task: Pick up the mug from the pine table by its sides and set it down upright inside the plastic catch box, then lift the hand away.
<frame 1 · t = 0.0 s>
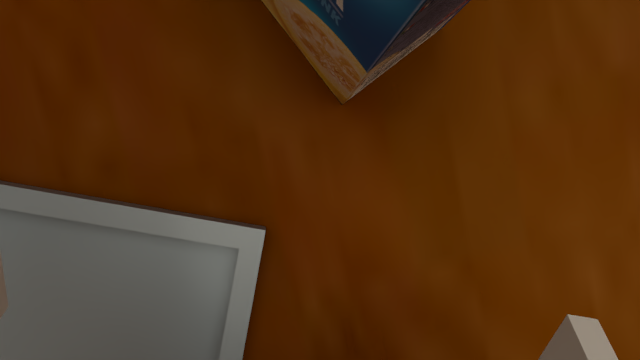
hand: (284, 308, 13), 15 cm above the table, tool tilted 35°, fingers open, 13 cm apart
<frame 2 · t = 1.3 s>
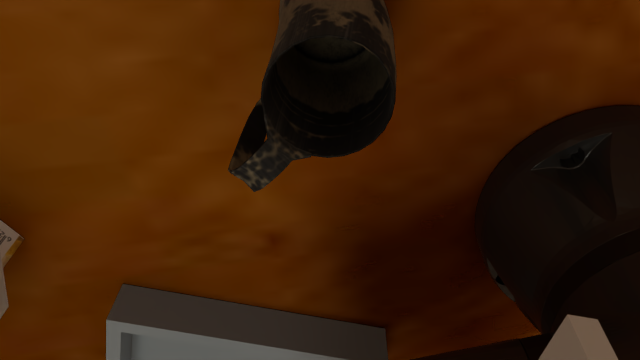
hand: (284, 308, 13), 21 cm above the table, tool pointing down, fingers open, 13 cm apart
mug: (317, 23, 30), on the table
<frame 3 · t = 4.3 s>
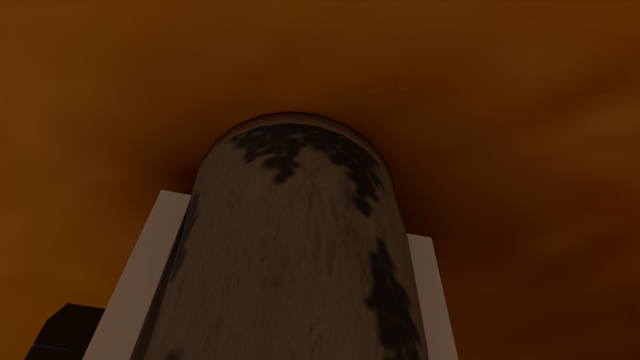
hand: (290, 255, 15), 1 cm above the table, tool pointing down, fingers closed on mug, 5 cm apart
mug: (271, 218, 16), on the table, touching gripper
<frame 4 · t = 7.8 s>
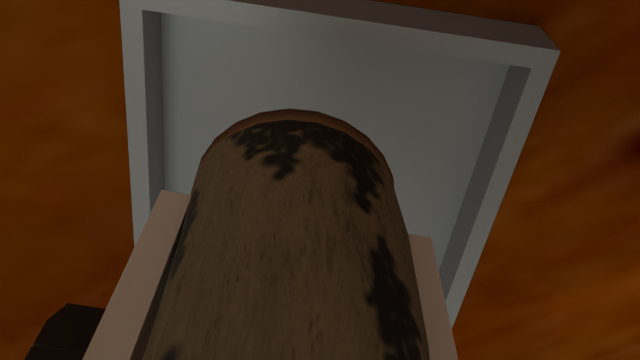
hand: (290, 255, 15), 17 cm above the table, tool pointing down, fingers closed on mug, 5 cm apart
catch box: (317, 164, 33), on the table
mug: (271, 216, 16), point 16 cm above the table, touching gripper
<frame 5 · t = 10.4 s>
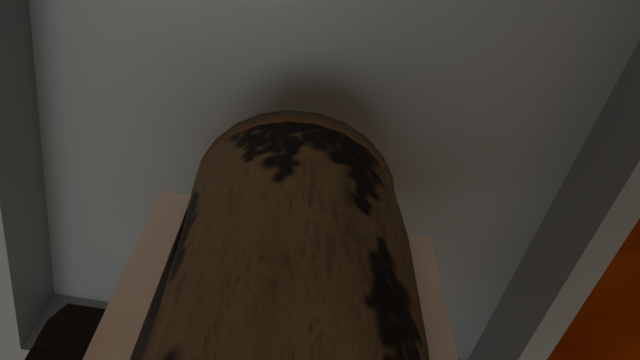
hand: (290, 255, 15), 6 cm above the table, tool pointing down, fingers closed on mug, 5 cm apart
catch box: (306, 143, 20), on the table
mug: (271, 217, 16), point 4 cm above the table, touching gripper
when the fingers open (4 cm above the table, at t = 11.6 s): mug drops 2 cm, resting on catch box.
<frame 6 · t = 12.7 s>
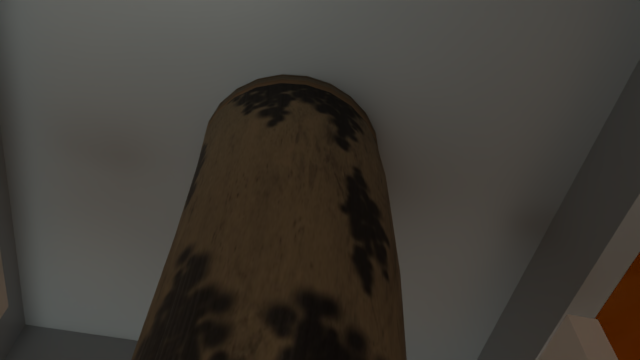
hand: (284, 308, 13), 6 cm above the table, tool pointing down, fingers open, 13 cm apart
catch box: (289, 166, 19), on the table
mug: (271, 173, 18), resting on catch box
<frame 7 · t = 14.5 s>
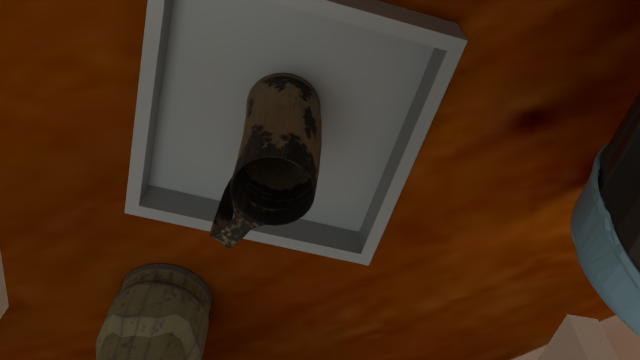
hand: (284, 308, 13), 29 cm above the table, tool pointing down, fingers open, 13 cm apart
catch box: (282, 112, 43), on the table
mug: (274, 114, 42), resting on catch box
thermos: (167, 295, 54), on the table
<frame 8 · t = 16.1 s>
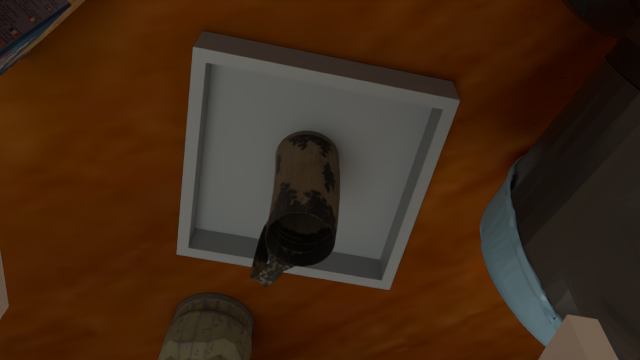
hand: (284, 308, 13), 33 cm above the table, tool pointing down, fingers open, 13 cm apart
catch box: (306, 162, 49), on the table
mug: (299, 165, 49), resting on catch box
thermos: (215, 319, 61), on the table
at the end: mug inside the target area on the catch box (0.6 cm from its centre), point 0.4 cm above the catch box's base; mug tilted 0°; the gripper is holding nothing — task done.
